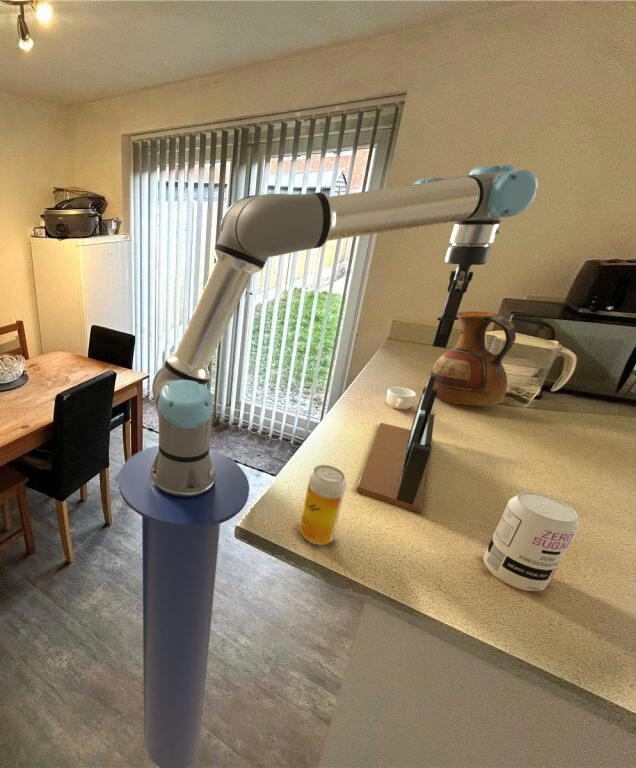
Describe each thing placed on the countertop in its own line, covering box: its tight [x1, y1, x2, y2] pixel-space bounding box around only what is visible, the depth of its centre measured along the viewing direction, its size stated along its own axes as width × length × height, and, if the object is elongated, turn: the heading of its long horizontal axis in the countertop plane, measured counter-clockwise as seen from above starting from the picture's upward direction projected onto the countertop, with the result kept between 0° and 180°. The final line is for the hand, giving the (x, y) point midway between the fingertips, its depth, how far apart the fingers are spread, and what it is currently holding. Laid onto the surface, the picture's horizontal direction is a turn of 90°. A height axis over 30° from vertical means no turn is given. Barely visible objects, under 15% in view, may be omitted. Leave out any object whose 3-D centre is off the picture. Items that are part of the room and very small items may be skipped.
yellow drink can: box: [299, 464, 347, 546], centre depth 75 cm, size 6×6×15 cm
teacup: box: [386, 386, 417, 410], centre depth 126 cm, size 10×8×5 cm
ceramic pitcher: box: [427, 310, 517, 407], centre depth 125 cm, size 20×20×30 cm
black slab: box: [407, 373, 437, 455], centre depth 99 cm, size 1×16×20 cm, turn 142°
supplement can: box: [483, 491, 581, 592], centre depth 66 cm, size 8×8×15 cm
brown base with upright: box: [355, 386, 438, 514], centre depth 97 cm, size 12×37×15 cm, turn 142°
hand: (439, 346), depth 96 cm, fingers closed
